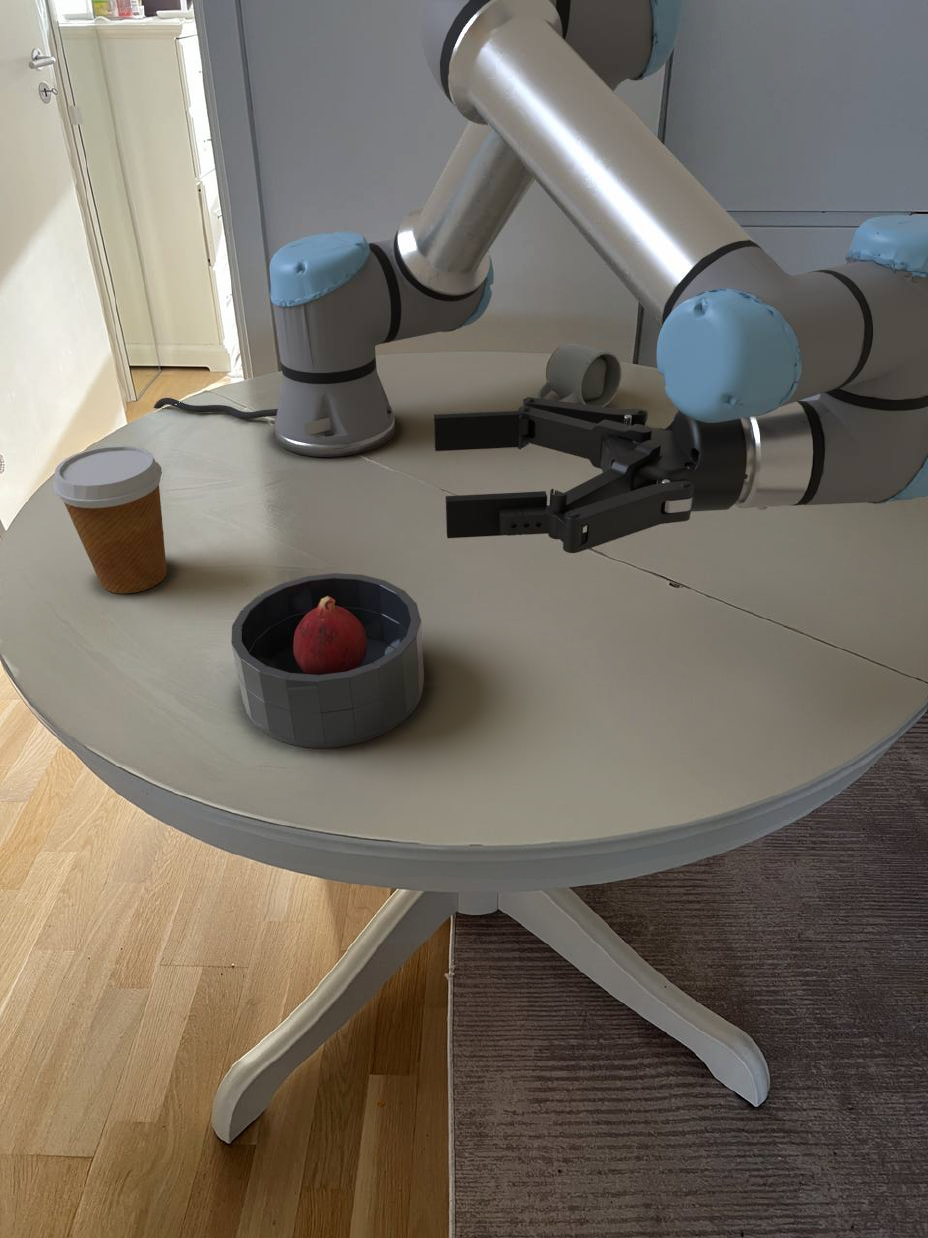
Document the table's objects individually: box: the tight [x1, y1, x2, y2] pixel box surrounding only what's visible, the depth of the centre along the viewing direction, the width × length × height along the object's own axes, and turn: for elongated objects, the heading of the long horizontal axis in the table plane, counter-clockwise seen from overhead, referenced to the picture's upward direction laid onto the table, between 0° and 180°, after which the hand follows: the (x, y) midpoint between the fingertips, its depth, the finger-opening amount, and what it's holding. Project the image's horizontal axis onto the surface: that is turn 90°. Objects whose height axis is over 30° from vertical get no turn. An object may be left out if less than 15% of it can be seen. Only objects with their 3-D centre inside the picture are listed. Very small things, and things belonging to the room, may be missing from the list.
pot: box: [230, 572, 425, 749], centre depth 74 cm, size 15×15×6 cm
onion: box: [293, 596, 367, 675], centre depth 73 cm, size 6×6×8 cm
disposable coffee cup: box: [52, 444, 168, 595], centre depth 87 cm, size 10×10×12 cm
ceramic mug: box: [536, 343, 623, 407], centre depth 123 cm, size 11×8×8 cm
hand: (439, 471), depth 65 cm, fingers open, 13 cm apart
